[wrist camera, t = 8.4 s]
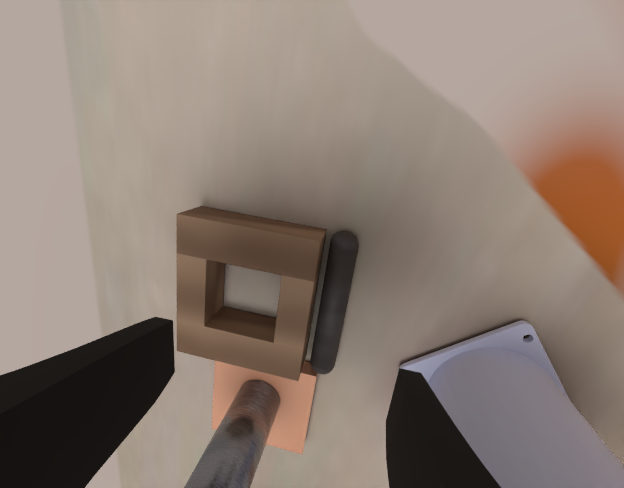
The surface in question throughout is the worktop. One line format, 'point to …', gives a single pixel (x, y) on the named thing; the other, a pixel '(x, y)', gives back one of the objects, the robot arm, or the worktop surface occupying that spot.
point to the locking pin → (238, 439)
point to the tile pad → (293, 401)
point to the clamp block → (292, 299)
